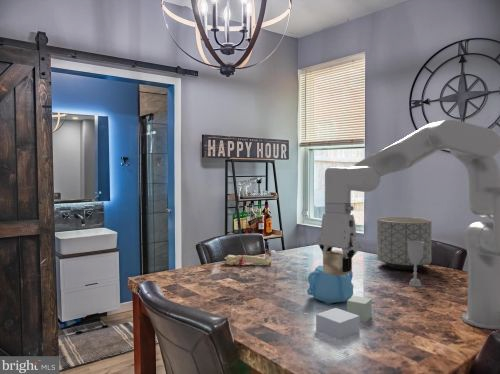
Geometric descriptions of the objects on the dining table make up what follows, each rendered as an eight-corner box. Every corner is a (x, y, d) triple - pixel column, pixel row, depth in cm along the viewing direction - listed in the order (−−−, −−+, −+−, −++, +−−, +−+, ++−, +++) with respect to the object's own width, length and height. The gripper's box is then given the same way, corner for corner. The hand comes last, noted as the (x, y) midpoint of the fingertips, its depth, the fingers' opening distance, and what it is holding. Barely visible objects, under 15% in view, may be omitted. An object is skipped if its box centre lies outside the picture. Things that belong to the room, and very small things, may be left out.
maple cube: (351, 272, 118) (352, 252, 117) (339, 276, 114) (339, 255, 114) (335, 269, 122) (335, 249, 122) (322, 272, 118) (323, 252, 118)
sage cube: (371, 317, 130) (371, 298, 130) (365, 322, 125) (365, 303, 125) (353, 313, 133) (353, 295, 133) (347, 318, 128) (347, 300, 128)
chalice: (425, 287, 162) (426, 243, 162) (408, 286, 164) (408, 243, 163) (421, 282, 170) (422, 240, 169) (405, 282, 171) (405, 240, 170)
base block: (359, 332, 118) (359, 315, 118) (339, 340, 112) (339, 322, 112) (335, 323, 125) (335, 307, 125) (316, 330, 119) (316, 314, 119)
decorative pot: (301, 302, 146) (301, 265, 145) (318, 290, 159) (318, 257, 159) (345, 309, 137) (345, 270, 136) (358, 297, 151) (358, 261, 150)
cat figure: (271, 265, 209) (224, 261, 212) (272, 249, 209) (225, 244, 212) (270, 270, 199) (221, 265, 202) (271, 253, 199) (222, 248, 202)
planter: (427, 276, 180) (427, 223, 179) (371, 269, 193) (371, 220, 192) (434, 265, 201) (434, 218, 201) (383, 260, 214) (383, 215, 214)
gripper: (370, 210, 113) (370, 272, 114) (323, 206, 126) (322, 262, 127) (354, 211, 108) (354, 277, 109) (307, 207, 122) (307, 266, 122)
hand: (337, 268), depth 118 cm, fingers closed on maple cube, 6 cm apart
